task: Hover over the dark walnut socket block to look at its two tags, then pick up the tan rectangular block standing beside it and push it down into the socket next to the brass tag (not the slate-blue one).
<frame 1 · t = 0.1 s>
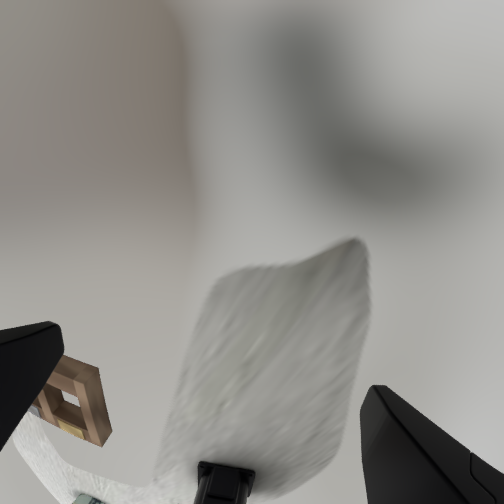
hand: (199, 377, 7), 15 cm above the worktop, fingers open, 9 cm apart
socket block: (54, 381, 28), on the worktop
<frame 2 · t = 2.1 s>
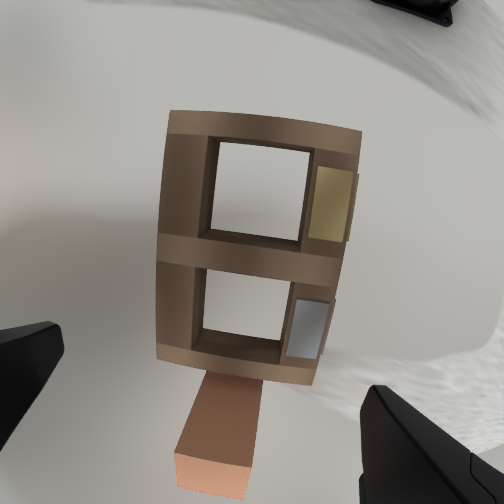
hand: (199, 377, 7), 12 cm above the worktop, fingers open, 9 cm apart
cup: (383, 473, 24), on the worktop
socket block: (252, 247, 19), on the worktop
tan rectangular block: (234, 386, 22), on the worktop
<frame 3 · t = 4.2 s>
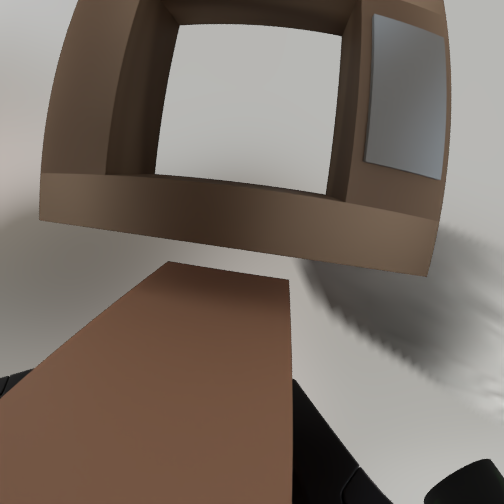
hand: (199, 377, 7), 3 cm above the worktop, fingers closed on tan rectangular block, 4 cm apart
cup: (458, 482, 12), on the worktop
socket block: (261, 7, 8), on the worktop
tan rectangular block: (221, 325, 10), on the worktop, touching gripper
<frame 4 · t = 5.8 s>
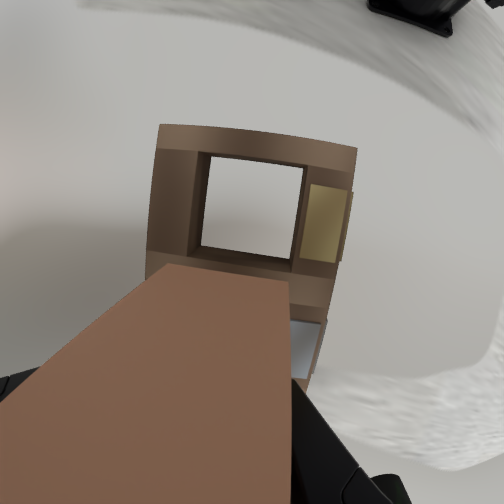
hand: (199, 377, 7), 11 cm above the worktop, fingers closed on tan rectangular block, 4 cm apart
cup: (375, 486, 23), on the worktop
socket block: (242, 264, 18), on the worktop
tan rectangular block: (220, 327, 10), point 8 cm above the worktop, touching gripper
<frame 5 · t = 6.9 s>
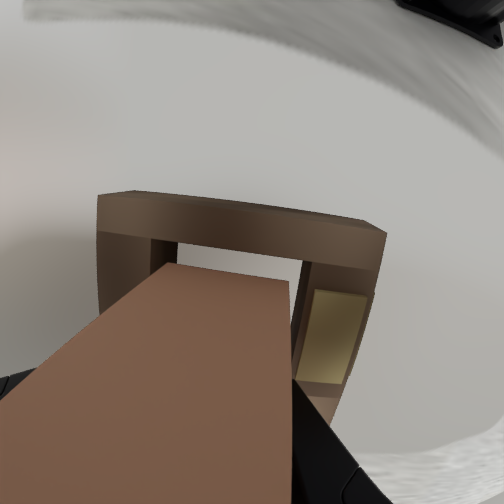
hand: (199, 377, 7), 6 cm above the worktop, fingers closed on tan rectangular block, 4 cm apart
socket block: (226, 358, 14), on the worktop
tan rectangular block: (220, 326, 10), point 3 cm above the worktop, touching gripper
when the fingers open (4 cm above the worktop, at t = 7.6 s): tan rectangular block drops 1 cm, resting in socket block.
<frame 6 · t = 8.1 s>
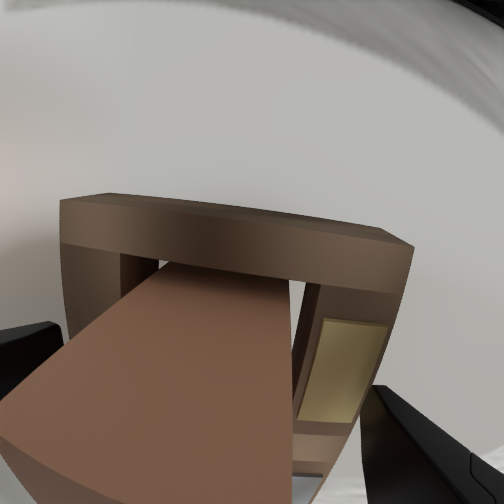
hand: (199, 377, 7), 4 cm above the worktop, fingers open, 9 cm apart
socket block: (218, 385, 12), on the worktop
tan rectangular block: (226, 314, 11), resting in socket block
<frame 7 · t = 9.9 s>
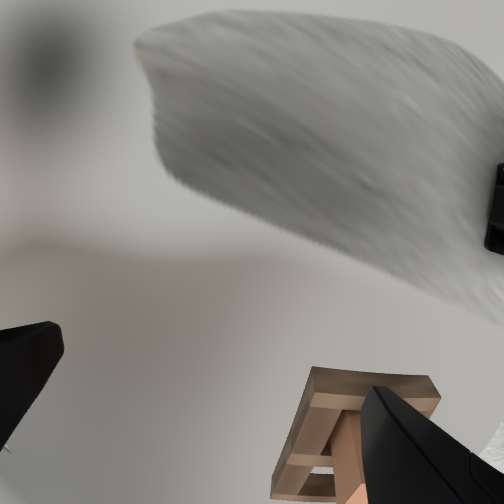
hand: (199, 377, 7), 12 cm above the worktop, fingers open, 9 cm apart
socket block: (344, 437, 22), on the worktop
tan rectangular block: (358, 410, 21), resting in socket block
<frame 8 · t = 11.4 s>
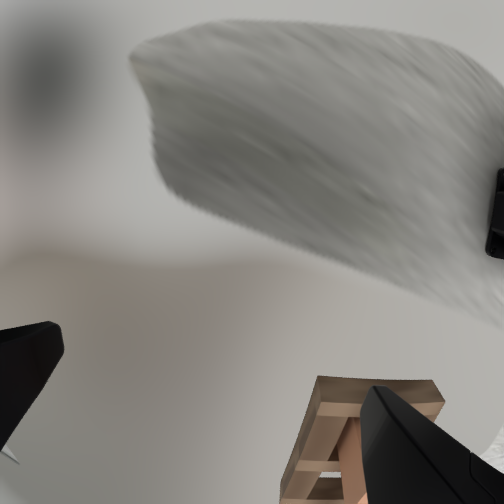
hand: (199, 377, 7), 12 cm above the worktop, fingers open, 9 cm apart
socket block: (350, 442, 22), on the worktop
tan rectangular block: (363, 415, 21), resting in socket block
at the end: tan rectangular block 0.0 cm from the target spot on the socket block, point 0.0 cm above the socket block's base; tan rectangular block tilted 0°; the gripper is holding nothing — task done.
